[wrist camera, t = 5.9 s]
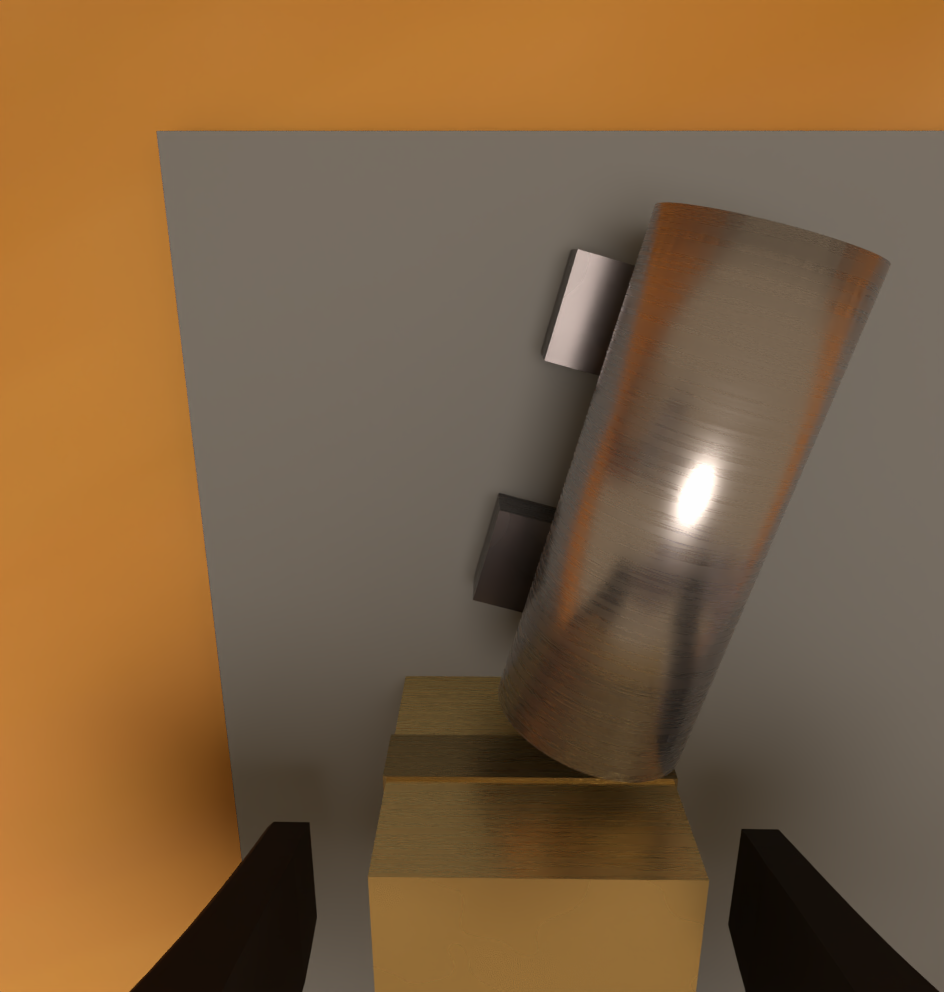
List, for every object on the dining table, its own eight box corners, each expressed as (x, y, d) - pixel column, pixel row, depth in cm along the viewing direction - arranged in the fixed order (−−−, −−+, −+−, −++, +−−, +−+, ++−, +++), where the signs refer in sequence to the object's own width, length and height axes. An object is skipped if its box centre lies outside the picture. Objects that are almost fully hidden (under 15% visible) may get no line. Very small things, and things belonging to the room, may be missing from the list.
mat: (1236, 137, 11) (1277, 130, 11) (952, 1111, 18) (967, 1140, 17) (172, 136, 11) (156, 131, 11) (279, 1096, 18) (272, 1125, 17)
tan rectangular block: (640, 675, 14) (713, 877, 9) (626, 864, 15) (684, 1120, 10) (403, 673, 14) (363, 873, 9) (409, 862, 15) (378, 1114, 11)
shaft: (670, 649, 14) (745, 813, 10) (464, 597, 14) (454, 743, 10) (820, 273, 12) (995, 286, 8) (580, 203, 12) (630, 178, 8)
